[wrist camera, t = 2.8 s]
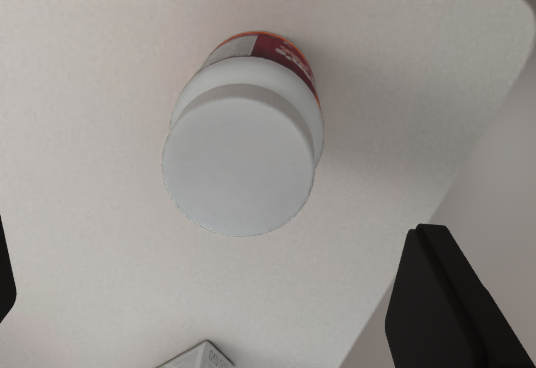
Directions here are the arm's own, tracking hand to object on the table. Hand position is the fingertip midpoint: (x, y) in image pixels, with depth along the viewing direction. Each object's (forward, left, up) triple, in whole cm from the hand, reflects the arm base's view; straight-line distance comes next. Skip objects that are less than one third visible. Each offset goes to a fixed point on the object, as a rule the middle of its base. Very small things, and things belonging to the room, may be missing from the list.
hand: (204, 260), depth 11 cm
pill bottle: (0, 0, -17) cm, 17 cm away
